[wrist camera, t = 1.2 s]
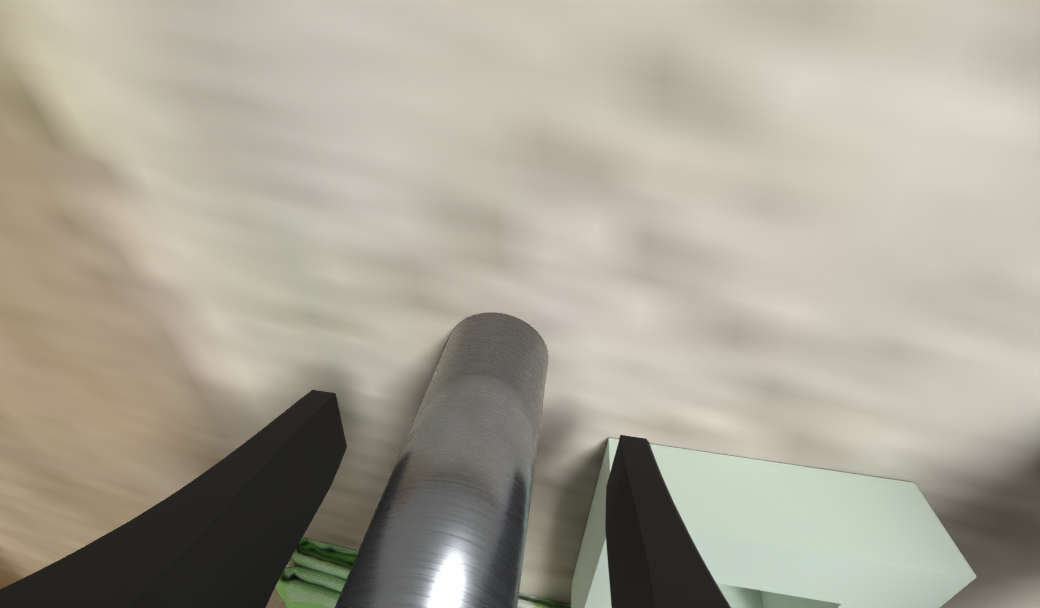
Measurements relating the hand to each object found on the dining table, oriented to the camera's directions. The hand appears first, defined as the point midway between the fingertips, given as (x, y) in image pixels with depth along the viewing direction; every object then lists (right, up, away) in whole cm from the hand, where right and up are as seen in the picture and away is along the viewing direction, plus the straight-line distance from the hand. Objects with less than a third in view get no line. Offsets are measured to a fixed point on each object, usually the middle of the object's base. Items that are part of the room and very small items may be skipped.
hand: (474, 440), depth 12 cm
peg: (0, +2, +3) cm, 3 cm away
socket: (+9, -6, +7) cm, 13 cm away
